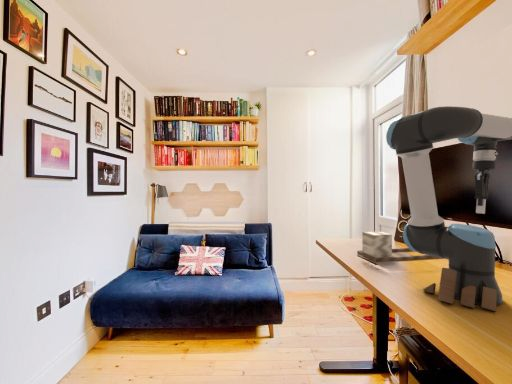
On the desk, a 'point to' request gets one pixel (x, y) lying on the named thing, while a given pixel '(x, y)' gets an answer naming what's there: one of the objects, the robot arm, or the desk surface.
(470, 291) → the wooden block set
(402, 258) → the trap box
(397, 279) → the desk surface
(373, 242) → the birch block
